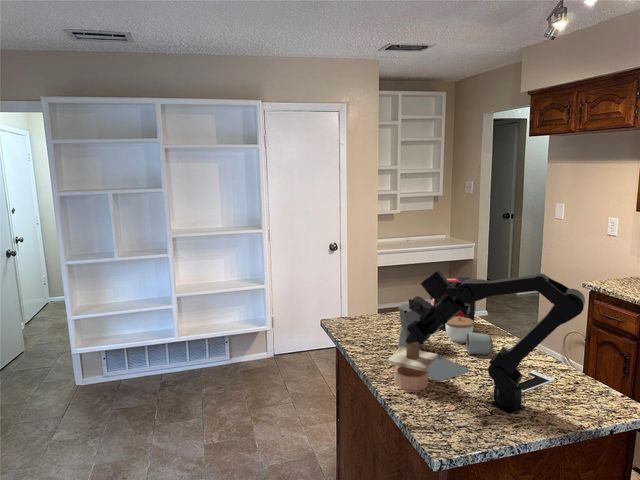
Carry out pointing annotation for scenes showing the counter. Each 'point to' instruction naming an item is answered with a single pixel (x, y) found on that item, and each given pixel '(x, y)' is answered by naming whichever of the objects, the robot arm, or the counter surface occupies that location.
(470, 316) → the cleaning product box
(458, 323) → the lidded jar
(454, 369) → the rubber mat
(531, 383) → the cell phone
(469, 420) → the counter surface
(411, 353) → the square lid with knob
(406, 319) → the coffeepot
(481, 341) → the ceramic mug
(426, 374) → the terracotta bowl
